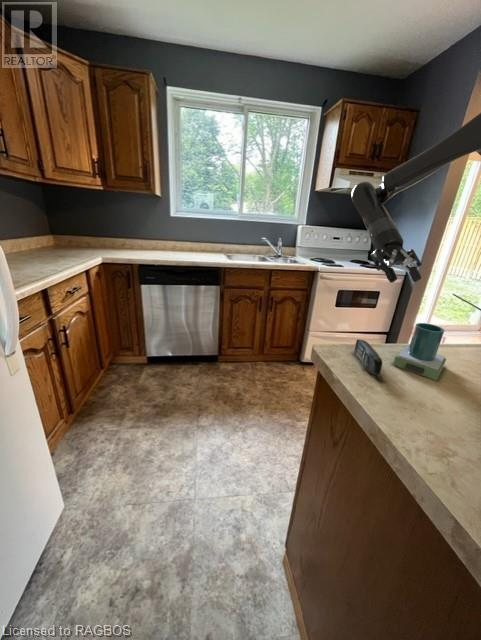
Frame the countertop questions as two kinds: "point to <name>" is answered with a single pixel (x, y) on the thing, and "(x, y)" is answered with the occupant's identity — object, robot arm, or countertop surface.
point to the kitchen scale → (420, 364)
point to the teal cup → (425, 341)
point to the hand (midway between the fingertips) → (406, 280)
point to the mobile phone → (368, 357)
